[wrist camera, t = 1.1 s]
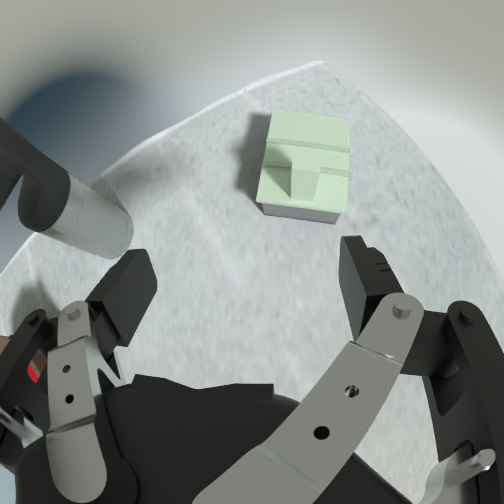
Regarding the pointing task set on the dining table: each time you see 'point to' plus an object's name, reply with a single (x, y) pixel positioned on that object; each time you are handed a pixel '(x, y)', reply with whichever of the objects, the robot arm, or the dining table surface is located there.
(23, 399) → the robot arm
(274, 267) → the dining table surface
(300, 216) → the tub
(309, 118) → the lid
